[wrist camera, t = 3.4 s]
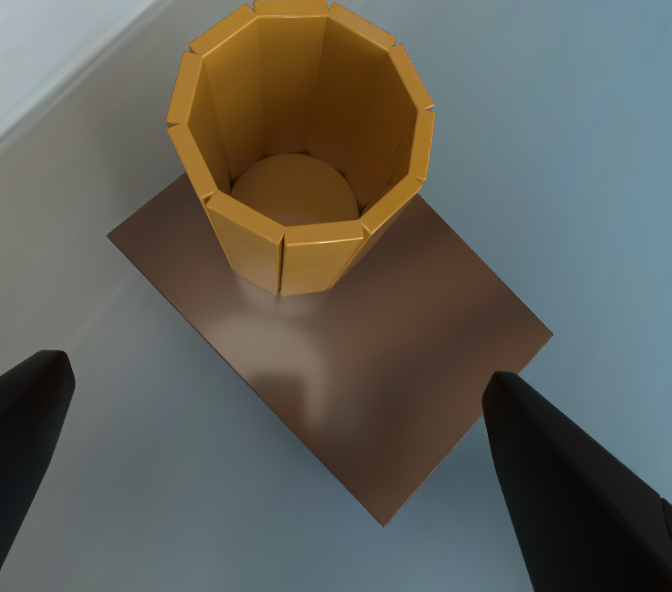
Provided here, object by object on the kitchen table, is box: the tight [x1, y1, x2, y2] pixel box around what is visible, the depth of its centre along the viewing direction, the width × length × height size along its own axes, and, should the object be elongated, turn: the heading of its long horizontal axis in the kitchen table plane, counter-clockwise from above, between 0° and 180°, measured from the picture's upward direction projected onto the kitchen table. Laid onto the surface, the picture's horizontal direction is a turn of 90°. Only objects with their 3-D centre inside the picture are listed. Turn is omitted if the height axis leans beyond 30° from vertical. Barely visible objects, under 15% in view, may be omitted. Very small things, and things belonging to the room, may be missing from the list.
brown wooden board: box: [107, 172, 553, 527], centre depth 20 cm, size 16×11×4 cm
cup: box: [166, 0, 436, 297], centre depth 15 cm, size 6×7×8 cm
